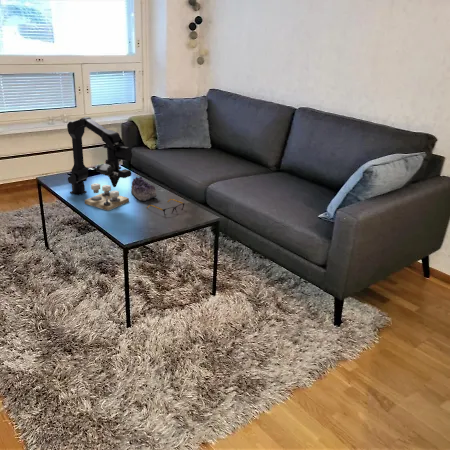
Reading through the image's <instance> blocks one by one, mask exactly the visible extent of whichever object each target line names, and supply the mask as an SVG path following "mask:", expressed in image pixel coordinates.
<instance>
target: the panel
mask: <svg viewBox="0 0 450 450" xmlns="http://www.w3.org/2000/svg"><path fill="white" fill-rule="evenodd" d="M110 192H111V191H109V194H104V192H101V193H98V194H97V195H94V196H92V197H89V198H87V199H84V204H85V205H89V206H91V207H94V208H98V209H101V210H105V211H111V210H113V209H116V208H117V207H120V206H122V205H125V204H127V203H129V202H130V198H129V197H128V196H127V197H126V196H122V195H119V196H118V197H117V200H112V197H111V196H110ZM106 197H108V202H110V203H111V205H108V206H106V205H104V202H106Z"/></svg>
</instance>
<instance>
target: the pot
mask: <svg viewBox="0 0 450 450" xmlns="http://www.w3.org/2000/svg"><path fill="white" fill-rule="evenodd" d="M104 205H106V206H108V205H111V203H110V202H108V197H106V202H104Z"/></svg>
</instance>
